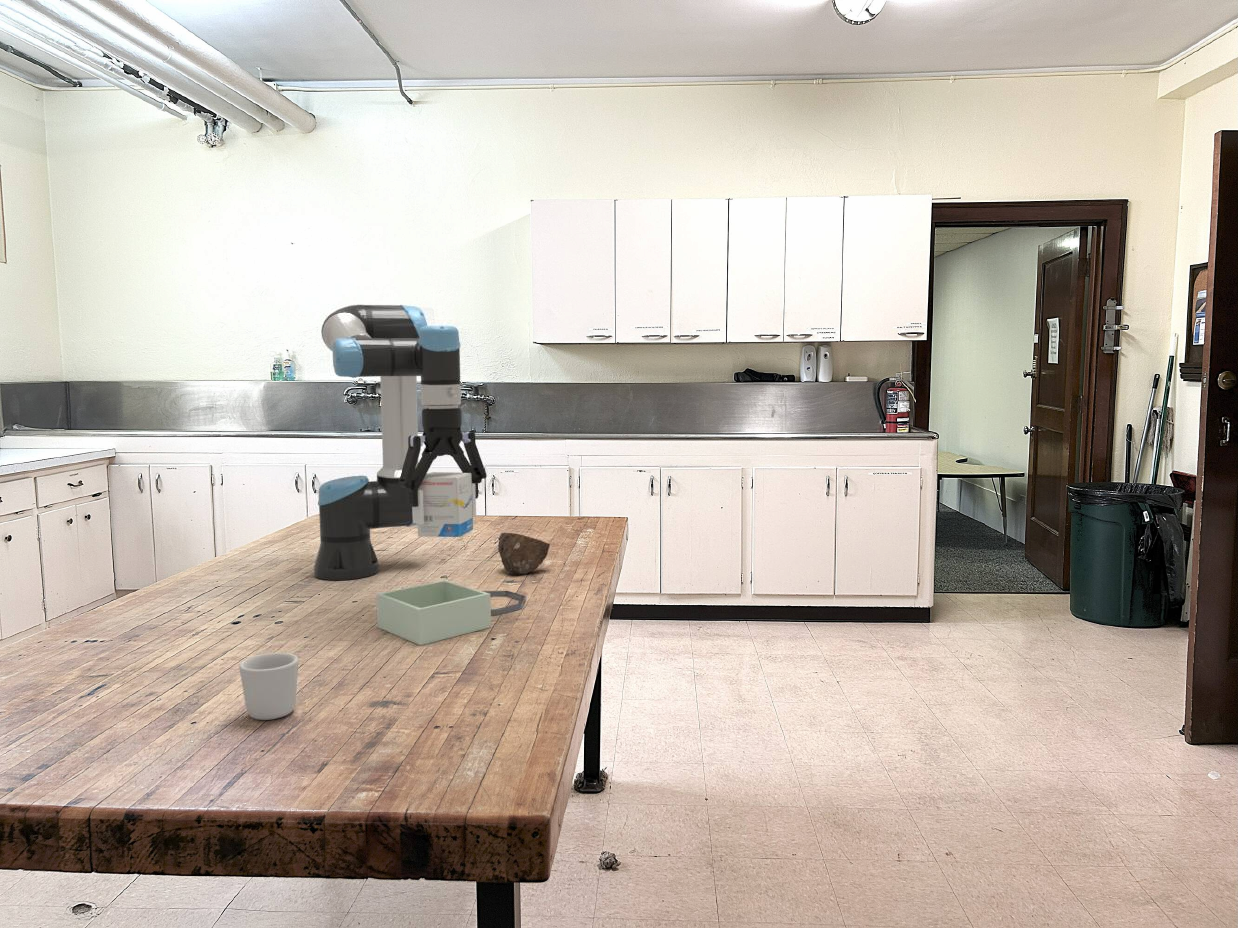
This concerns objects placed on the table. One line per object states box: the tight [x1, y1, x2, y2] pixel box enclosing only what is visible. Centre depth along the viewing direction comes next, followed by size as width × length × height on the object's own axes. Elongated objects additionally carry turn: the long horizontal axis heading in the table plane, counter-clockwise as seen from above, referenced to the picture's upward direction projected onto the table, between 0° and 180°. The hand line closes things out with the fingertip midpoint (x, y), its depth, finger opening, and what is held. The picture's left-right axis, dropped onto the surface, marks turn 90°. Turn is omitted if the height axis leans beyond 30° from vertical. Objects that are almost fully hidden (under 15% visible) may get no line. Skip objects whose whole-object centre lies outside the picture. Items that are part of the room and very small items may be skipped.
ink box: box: [416, 471, 474, 538], centre depth 172 cm, size 9×8×12 cm
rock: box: [497, 532, 551, 576], centre depth 213 cm, size 12×10×10 cm
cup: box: [239, 652, 299, 721], centre depth 130 cm, size 11×8×8 cm
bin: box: [375, 579, 492, 646], centre depth 170 cm, size 16×16×7 cm
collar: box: [482, 590, 526, 616], centre depth 186 cm, size 16×16×1 cm
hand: (445, 519), depth 172 cm, fingers closed on ink box, 11 cm apart
